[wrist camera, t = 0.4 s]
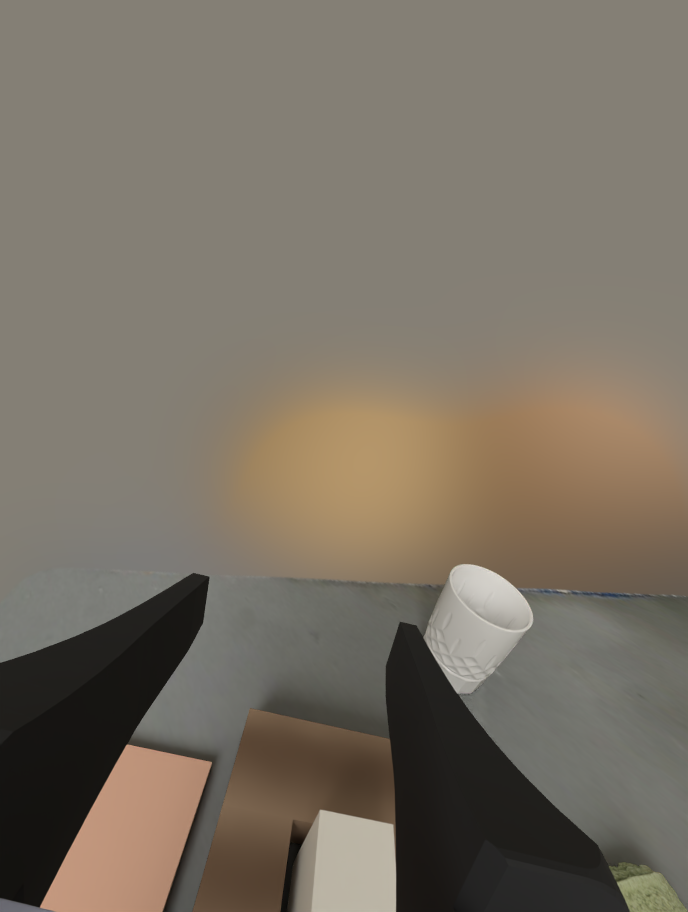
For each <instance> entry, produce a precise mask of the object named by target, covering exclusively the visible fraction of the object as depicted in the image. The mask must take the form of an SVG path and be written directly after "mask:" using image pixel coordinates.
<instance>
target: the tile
mask: <svg viewBox="0 0 688 912" xmlns="http://www.w3.org/2000/svg"><path fill="white" fill-rule="evenodd" d="M211 765H212V762H209V761H204V760H199V759H194V758H190V757H185V756H180V755H175V754H170V753H166V752H161V751H156V750H151V749H146V748H142V747H137V746H132V745H126V747H125V749H124V750H123V752H122V754H121V756H120V757H119V759H118V761H117V763H116V764H115V766H114V768H113V770H112V772H111V774H110V775H109V777H108V779H107V781H106V783H105V784H104V786H103V788H102V790H101V792H100V793H99V795H98V797H97V799H96V801H95V803H94V804H93V806H92V808H91V810H90V812H89V814H88V816H87V818H86V819H85V821H84V823H83V825H82V827H81V829H80V831H79V833H78V834H77V836H76V838H75V840H74V842H73V844H72V846H71V848H70V850H69V851H68V853H67V855H66V857H65V859H64V861H63V863H62V865H61V867H60V869H59V871H58V873H57V875H56V877H55V879H54V881H53V882H52V884H51V886H50V888H49V890H48V892H47V894H46V896H45V898H44V900H43V902H42V904H41V906H40V908H43V909H47V910H52V911H56V912H163V911H164V908H165V905H166V902H167V899H168V896H169V893H170V890H171V887H172V884H173V881H174V878H175V875H176V872H177V869H178V866H179V863H180V860H181V857H182V854H183V851H184V848H185V845H186V842H187V839H188V836H189V833H190V830H191V827H192V824H193V821H194V818H195V815H196V812H197V809H198V806H199V803H200V800H201V797H202V794H203V791H204V788H205V784H206V781H207V778H208V775H209V772H210V769H211Z"/></svg>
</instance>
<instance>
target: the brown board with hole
mask: <svg viewBox="0 0 688 912" xmlns="http://www.w3.org/2000/svg"><path fill="white" fill-rule="evenodd" d="M320 810H325V811H330V812H335V813H339V814H344V815H349V816H354V817H359V818H364V819H369V820H374V821H379V822H383V823H388V824H393V829H394V845H395V862H396V827H395V788H394V774H393V764H392V754H391V744H390V739H388V738H383V737H379V736H374V735H370V734H365V733H361V732H356V731H351V730H347V729H342V728H338V727H333V726H329V725H324V724H320V723H315V722H311V721H306V720H302V719H297V718H292V717H288V716H283V715H279V714H274V713H270V712H265V711H261V710H256V709H252V708H250V710H249V714H248V717H247V721H246V724H245V728H244V731H243V735H242V738H241V742H240V745H239V749H238V752H237V756H236V760H235V763H234V767H233V770H232V774H231V777H230V781H229V784H228V788H227V791H226V795H225V798H224V802H223V805H222V809H221V813H220V816H219V820H218V823H217V827H216V830H215V834H214V837H213V841H212V844H211V848H210V851H209V855H208V858H207V862H206V866H205V869H204V873H203V876H202V880H201V883H200V887H199V890H198V894H197V897H196V901H195V904H194V908H193V912H280V909H281V902H282V895H283V887H284V880H285V873H286V865H287V858H288V851H289V844H290V842H291V843H296V844H301V845H302V844H303V842H304V840H305V838H306V836H307V834H308V832H309V830H310V828H311V827H312V825H313V823H314V821H315V819H316V817H317V815H318V813H319V811H320Z"/></svg>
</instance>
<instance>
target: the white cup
mask: <svg viewBox="0 0 688 912" xmlns="http://www.w3.org/2000/svg"><path fill="white" fill-rule="evenodd" d="M532 623H533V614H532V610H531V608H530V606H529V604H528V602H527V601H526V599H525V598H524V597H523V595H522V594H521V593H520V592H519V591H518V590H517V589H516V588H515V587H514V586H513V585H512V584H511V583H509V582H508V581H507V580H505V579H504V578H503V577H501V576H499V575H498V574H496V573H494V572H492V571H490V570H488V569H486V568H483V567H480V566H476V565H472V564H461V565H458V566H456V567H454V568H453V569H452V571H451V572H450V574H449V577H448V579H447V581H446V583H445V585H444V588H443V590H442V592H441V594H440V597H439V599H438V601H437V603H436V605H435V608H434V610H433V612H432V615H431V618H430V620H429V622H428V627H427V630H426V632H425V634H424V636H423V638H424V640H425V642H426V643H427V645H428V647H429V649H430V650H431V652H432V654H433V656H434V657H435V659H436V661H437V662H438V664H439V666H440V667H441V669H442V671H443V672H444V674H445V676H446V677H447V679H448V680H449V682H450V683H451V685H452V687H453V688H454V690H455V691H456V692H457V693H460V694H471V693H472V692H473V691H475V690H476V689H477V688H479V687H480V686H481V684H482V683H483V682H484V681H485V679H486V678H487V677H488V676H490V675H491V674H492V673H493V672H494V670H495V669H496V668H497V667H498V666H499V665H500V664H501V662H502V661H503V660H504V659H505V658H506V657H507V656H508V654H509V653H510V652H511V651H512V649H513V648H514V647H515V646H516V644H517V643H518V642H519V641H520V639H521V638H522V637H523V636H524V634H525V633H526V632H527V631H528V630H529V628H530V627H531V626H532Z"/></svg>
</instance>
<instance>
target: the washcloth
mask: <svg viewBox="0 0 688 912" xmlns="http://www.w3.org/2000/svg"><path fill="white" fill-rule="evenodd" d="M609 868H610V870H611V872H612V874H613V876H614V878H615V880H616V882H617V884H618V886H619V888H620V890H621V892H622V894H623V896H624V899H625V901H626V903H627V905H628V908H629V910H630V912H688V911H687V909H686V908H685V907H684V906H683V904H682V903H681V902H680V900H679V899H678V897H677V894H676V893H675V891H674V889H673V888H672V887H671V886H670V885H669V884H668V882H667V881H666V879H665V878H664V876H663V875H662V874H661V873H659V872H654V871H652V870H651V869H650V868H649V867H648V866H646V865H639V866H637V865H633V864H631V863H626V862H622V863H618V867H615V866H613V867H611V866H609Z"/></svg>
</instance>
